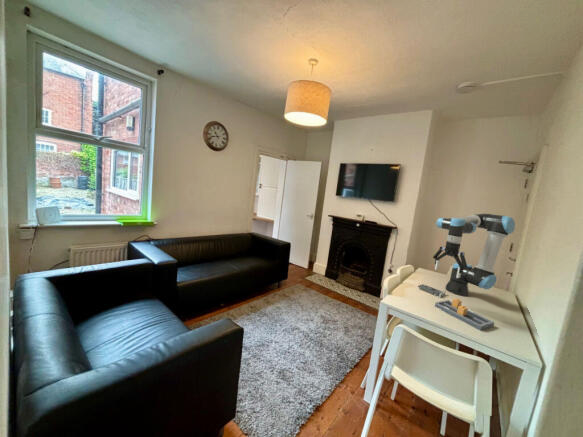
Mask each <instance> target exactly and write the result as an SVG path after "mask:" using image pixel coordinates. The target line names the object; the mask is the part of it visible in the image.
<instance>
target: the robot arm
mask: <svg viewBox="0 0 583 437" xmlns="http://www.w3.org/2000/svg"><path fill="white" fill-rule="evenodd" d="M435 225H436V227H437V228H439V229H443V230H448V234H447V236H446V237H447V238H446V241H445V246H439V249H438V250H437V252H436V253H435V254H434V255H433V257H432V258H433V259H434V265H435V266H434V267H435V268H434V270H435V271H438V270H439V268H440V264H441V263H440V262H441V260H442V258H444V257H445V256H448V257H452V258H453V259H455V263H453V265H452V268H451V273H450V277H449V281H447V283H446V285H445V287H444V289H445V291H447V292H448V293H452V294H454V295H458V296H462V297H469V293H470V292H469V291H470V290H469V284H470V285H474V287H475V286H476V287H478V288H480V289H484V290H490V289H491V288H493V287H494V286H495V285H496V282H497V279H498V278H497V276H496V275H495V271H494V267H495V264H496V261H497V258H498V257H499V256H498V255H499V252H500V250H501V247H502V244H503V241H504V239H505V238H506V237H508V235H511V234H513V233H514V231H515V228H516V223H515V220H514V218H513V217H511V216H506V215H500V214H493V213H492V214H491V213H478V214H476V213H475V214H470V215H469V216H460V217H450V218H445V217H439V218H437V220H436V222H435ZM477 228H478V229H482V230H486V233H487V237H486V240H485V244H484V247H483V250H482V252H481V254H480V257H479V260H478V264H476V265H474V267H473V265H472V264H468V263H467V261H466V258H465V257H466V256H465V252H464V251H460V247H461V243H462V239H463V234H467V235H468V234H473V233H475V231H476V230H477ZM443 251H444V252H443ZM442 252H443V253H442Z"/></svg>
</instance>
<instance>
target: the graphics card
mask: <svg viewBox="0 0 583 437" xmlns="http://www.w3.org/2000/svg"><path fill="white" fill-rule="evenodd" d="M417 287H418V288H420V289H421V290H422V291H423V292H426V293H429V294H430V295H431V296H434V295H435V297H437V296H438V297H437V298H439V297H440V298H442V297H444V296H446V291H447V290H444V291H443V290H440V289H438V288H437V289H436V288H435V287H431V286H430V285H427V284H423V283H422V284H418V286H417Z"/></svg>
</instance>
